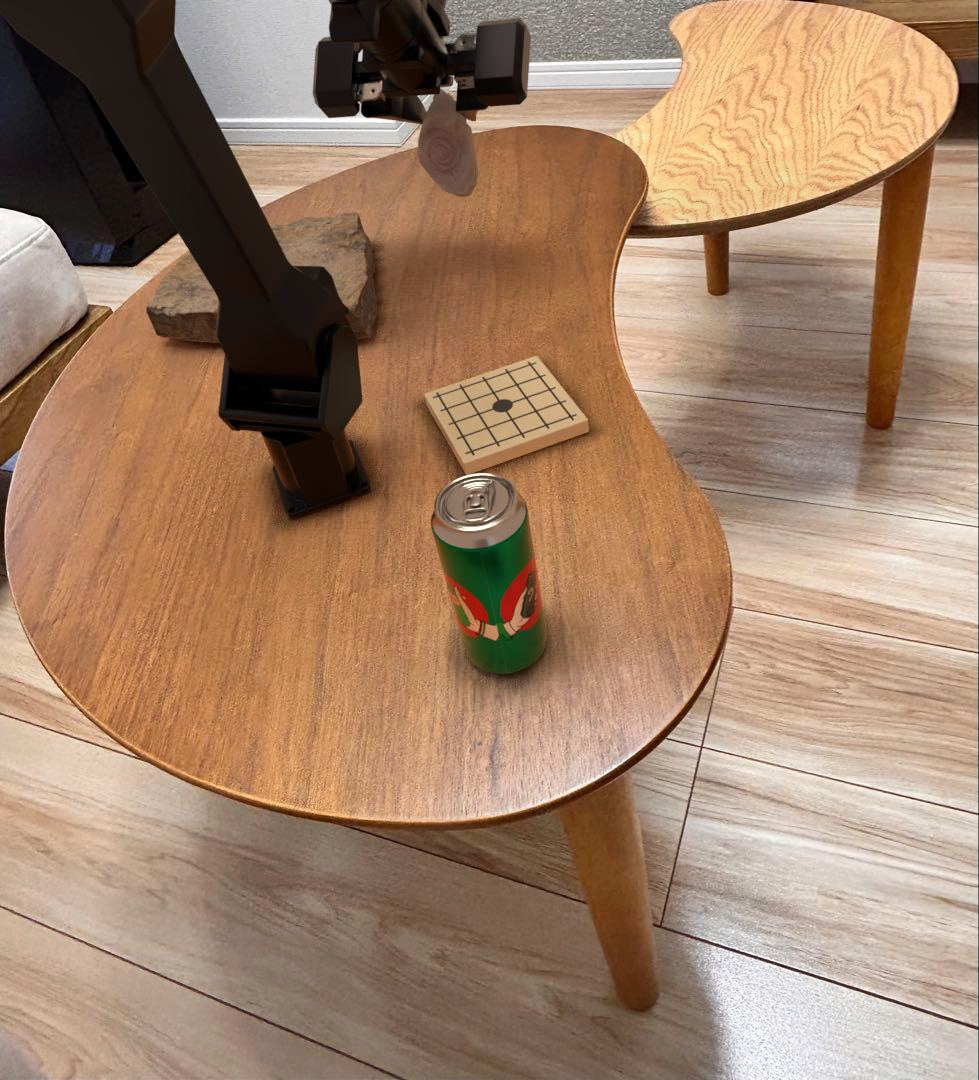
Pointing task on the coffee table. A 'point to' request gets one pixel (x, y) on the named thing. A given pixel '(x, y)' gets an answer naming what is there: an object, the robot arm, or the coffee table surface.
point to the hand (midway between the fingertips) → (450, 117)
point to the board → (505, 414)
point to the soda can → (490, 571)
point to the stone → (327, 242)
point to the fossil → (448, 147)
